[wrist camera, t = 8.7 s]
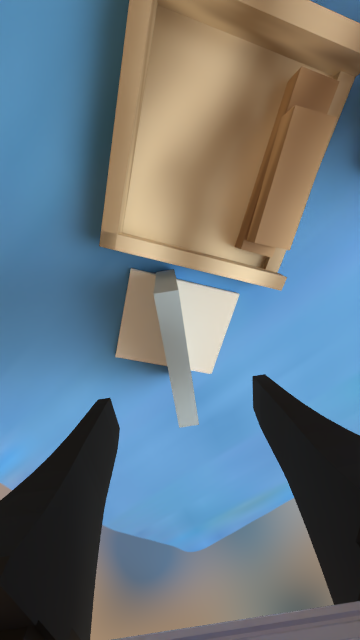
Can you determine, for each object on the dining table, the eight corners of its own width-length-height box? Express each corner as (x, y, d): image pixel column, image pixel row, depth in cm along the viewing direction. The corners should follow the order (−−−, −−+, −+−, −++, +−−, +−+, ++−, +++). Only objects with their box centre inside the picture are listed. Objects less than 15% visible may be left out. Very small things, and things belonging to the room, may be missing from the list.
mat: (238, 293, 20) (239, 294, 20) (210, 371, 23) (211, 374, 23) (131, 268, 19) (130, 269, 19) (116, 354, 22) (115, 356, 22)
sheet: (174, 269, 19) (178, 289, 13) (190, 374, 23) (198, 424, 17) (156, 272, 19) (153, 293, 13) (175, 376, 23) (179, 427, 17)
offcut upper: (318, 127, 14) (336, 117, 13) (278, 247, 17) (289, 250, 16) (281, 116, 14) (295, 104, 13) (246, 240, 17) (254, 242, 15)
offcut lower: (322, 94, 15) (339, 81, 14) (263, 254, 19) (272, 257, 17) (287, 81, 15) (301, 66, 13) (234, 246, 18) (240, 249, 17)
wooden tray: (349, 66, 15) (387, 35, 13) (266, 281, 20) (281, 290, 18) (143, -19, 13) (138, -77, 11) (108, 242, 18) (99, 246, 16)
